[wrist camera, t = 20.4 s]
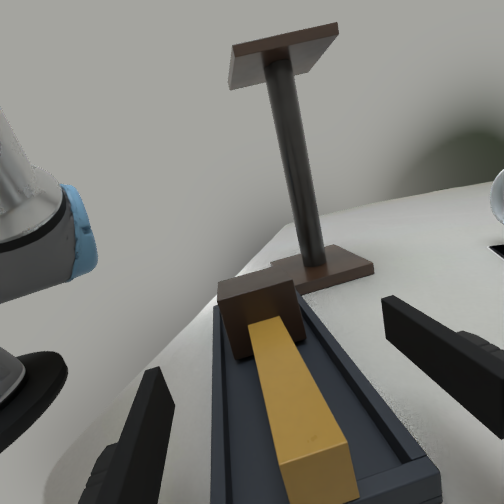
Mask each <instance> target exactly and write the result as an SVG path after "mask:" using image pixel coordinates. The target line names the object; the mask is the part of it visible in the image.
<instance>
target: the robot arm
mask: <svg viewBox="0 0 504 504" xmlns="http://www.w3.org/2000/svg"><path fill="white" fill-rule="evenodd" d="M90 228H91V226H90V223H89V219H88V215H87V213H86V210H85V207H84V204H83V202H82V200H81V197H80V195H79V193H78V191H77V190H76V188H75V187H73V186H71V185H63V184H59V182H58V181H57V180H56V179H55V178H54V176H53V175H52V174H50V173H49V172H47V171H46V170H44V169H42V168H40V167H37V166H34V165H32V164H31V163H30V161H29V160H28V158H27V156H26V154H25V152H24V150H23V148H22V146H21V145H20V143H19V141H18V139H17V137H16V135H15V133H14V131H13V129H12V128H11V126H10V124H9V122H8V120H7V118H6V116H5V114H4V113H3V111H2V109H1V107H0V304H1V303H4V302H7V301H10V300H13V299H16V298H19V297H22V296H25V295H28V294H31V293H34V292H37V291H40V290H43V289H46V288H49V287H52V286H55V285H58V284H61V283H64V282H65V283H66V282H70V281H71V280H73V279H74V278H76V277H78V276H81V275H83V274H86V273H89V272H90V271H92V270H93V269H94V268H95V267H96V265H97V261H98V254H97V248H96V243H95V240H94V236H93V233H92V230H91V229H90ZM381 303H382V311H383V319H384V327H385V335H386V339H387V340H388V341H389V342H390V343H391V344H393V345H394V346H395V347H396V348H397V349H398V350H399V351H401V352H402V353H403V354H404V355H405V356H406V357H407V358H409V359H410V360H411V361H412V362H413V363H414V364H415V365H416V366H418V367H419V368H420V369H421V370H422V371H423V372H424V373H426V374H427V375H428V376H429V377H430V378H431V379H432V380H434V381H435V382H436V383H437V384H438V385H439V386H440V387H442V388H443V389H444V390H445V391H446V392H447V393H448V394H449V395H451V396H452V397H453V398H454V399H455V400H456V401H457V402H459V403H460V404H461V405H462V406H463V407H464V408H465V409H467V410H468V411H469V412H470V413H471V414H472V415H473V416H475V417H476V418H477V419H478V420H479V421H480V422H481V423H482V424H484V425H485V426H486V427H487V428H488V429H489V430H490V431H492V432H493V433H494V434H495V435H496V436H497V437H498V438H500V439H501V440H502V439H504V350H500V348H499V347H497V346H495V345H493V344H490V343H489V342H488V341H486V340H484V339H483V338H481V337H479V336H477V335H474V334H471V333H468V332H465V331H460V332H457V333H456V332H454V331H452V330H451V329H449V328H447V327H446V326H444V325H442V324H441V323H439V322H437V321H436V320H434V319H432V318H431V317H429V316H427V315H426V314H424V313H422V312H421V311H419V310H417V309H416V308H414V307H412V306H411V305H409V304H407V303H406V302H404V301H402V300H401V299H399V298H397V297H396V296H394V295H392V296H388V297H385V298H382V299H381ZM27 380H28V372H27V371H26V369H25V367H24V365H23V364H22V363H21V362H20V361H19V360H18V359H17V358H16V357H14V356H13V355H11V354H10V353H9V352H7V351H6V350H4V349H3V348H1V347H0V411H1V410H3V409H4V408H5V407H6V406H7V405H8V404H9V403H10V402H11V401H12V400H13V399H14V398H15V397H16V396H17V395H18V394H19V392H20V391H21V390H22V389H23V387H24V386H25V384H26V382H27ZM174 409H175V404H174V401H173V399H172V396H171V394H170V391H169V389H168V387H167V384H166V382H165V379H164V377H163V374H162V372H161V369H160V367H159V366H158V367H155V368H152V369H148V370H145V373H144V375H143V378H142V380H141V383H140V386H139V388H138V391H137V394H136V396H135V399H134V402H133V404H132V407H131V409H130V412H129V415H128V417H127V420H126V423H125V425H124V428H123V431H122V433H121V436H120V438H119V441H118V442H117V443H114V444H111V445H108V446H107V447H106V448H105V449H104V451H103V452H102V453H101V455H100V456H99V457H98V459H97V461H96V463H95V465H94V467H93V470H92V472H91V476H90V477H89V479H88V481H87V484H86V488H85V489H84V491H83V493H82V495H81V498H80V500H79V502H78V504H158V498H159V493H160V487H161V481H162V476H163V470H164V465H165V459H166V454H167V448H168V443H169V437H170V432H171V426H172V421H173V415H174Z"/></svg>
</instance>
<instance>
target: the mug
mask: <svg viewBox="0 0 504 504" xmlns="http://www.w3.org/2000/svg"><path fill="white" fill-rule="evenodd" d="M490 205H491V209H492V212H493V214H494V216H495V217H496V219H497V220H498V221H500V222H501V223H502V224H504V169H503V170H502V171H501V172H500V173H499V174H498V176H497V177H496V179H495V181H494V182H493V185H492V187H491V192H490Z"/></svg>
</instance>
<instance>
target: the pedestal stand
mask: <svg viewBox="0 0 504 504" xmlns="http://www.w3.org/2000/svg"><path fill="white" fill-rule="evenodd" d="M338 34H339V30H338V23H337V22H335V23H330V24H326V25H322V26H317V27H313V28H308V29H303V30H299V31H294V32H290V33H285V34H280V35H276V36H271V37H267V38H262V39H258V40H253V41H249V42H244V43H239V44H235V45H232V52H231V60H230V69H229V77H228V84H229V89H230V90H234V89H238V88H243V87H247V86H251V85H256V84H259V83H264V82H266V85H267V89H268V94H269V99H270V104H271V108H272V113H273V119H274V124H275V128H276V133H277V138H278V143H279V148H280V153H281V158H282V163H283V168H284V173H285V178H286V183H287V187H288V192H289V197H290V202H291V207H292V212H293V217H294V222H295V227H296V232H297V237H298V241H299V246H300V251H301V254H298V255H294V256H291V257H287V258H284V259H280V260H277V261H273V262H270V264H271V267H273V266H277V265H279V266H280V267H281V268H282V269H283V270H284V271H285V272H286V273H287V274H288V275H289V276H290V277H291V278H292V279H293V281H294V286H295V289H296V290H297V291H298V293H299V294H300V295H303V294H306V293H310V292H313V291H317V290H320V289H323V288H327V287H330V286H334V285H337V284H340V283H344V282H347V281H351V280H354V279H357V278H361V277H364V276H368V275H371V274H374V267H373V263H372V262H370V261H368V260H366V259H364V258H362V257H359V256H357V255H355V254H353V253H351V252H349V251H347V250H345V249H343V248H341V247H339V246H336V245H334V244H333V245H330V246H326V247H324V243H323V237H322V232H321V226H320V220H319V215H318V209H317V204H316V198H315V192H314V187H313V181H312V175H311V170H310V164H309V159H308V153H307V147H306V141H305V136H304V130H303V124H302V119H301V114H300V108H299V102H298V97H297V91H296V85H295V79H294V76H295V75H299V74H303V73H307V72H309V71H310V69H311V68H312V67H313V66H314V64H315V63H316V62H317V61H318V59H319V58H320V57H321V56H322V54H323V53H324V52H325V51H326V49H327V48H328V47H329V46H330V45H331V43H332V42H333V41H334V40H335V38H336V37H337V36H338Z"/></svg>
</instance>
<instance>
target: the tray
mask: <svg viewBox="0 0 504 504" xmlns="http://www.w3.org/2000/svg"><path fill="white" fill-rule="evenodd" d="M295 290H296V289H295ZM296 294H297V298H298V302H299V307H300V311H301V315H302V319H303V323H304V328H305V332H306V336H307V339H304V340H301V341H297V342H294V344H295V346H296V348H297V350H298V351H299V353H300V355H301V357H302V359H303V361H304V362H305V364H306V366H307V368H308V370H309V372H310V374H311V375H312V377H313V379H314V381H315V383H316V385H317V387H318V388H319V390H320V392H321V394H322V396H323V398H324V399H325V401H326V403H327V405H328V407H329V409H330V411H331V412H332V414H333V416H334V418H335V420H336V422H337V424H338V425H339V427H340V429H341V431H342V433H343V435H344V436H345V438H346V440H347V442H348V446H349V451H350V455H351V460H352V464H353V469H354V473H355V478H356V482H357V487H358V491H359V496H360V497H359V498H357V499H354V500H352V501H349V502H346V503H343V504H439V503H442V502H443V499H442V489H441V474H440V471H439V470H438V469H437V467H436V466H435V465H434V464H433V462H432V461H431V460H430V459H429V457H428V456H427V454H426V453H425V452H424V450H423V449H422V448H421V447H420V445H419V444H418V443H417V442H416V440H415V439H414V438H413V437H412V435H411V434H410V433H409V432H408V430H407V429H406V428H405V426H404V425H403V424H402V423H401V421H400V420H399V419H398V418H397V416H396V415H395V414H394V413H393V411H392V410H391V409H390V408H389V406H388V405H387V404H386V402H385V401H384V400H383V399H382V397H381V396H380V395H379V394H378V392H377V391H376V390H375V389H374V387H373V386H372V385H371V384H370V382H369V381H368V380H367V379H366V377H365V376H364V375H363V373H362V372H361V371H360V370H359V368H358V367H357V366H356V365H355V363H354V362H353V361H352V360H351V358H350V357H349V356H348V355H347V353H346V352H345V351H344V349H343V348H342V347H341V346H340V344H339V343H338V342H337V341H336V339H335V338H334V337H333V336H332V334H331V333H330V332H329V331H328V329H327V328H326V327H325V326H324V324H323V323H322V322H321V320H320V319H319V318H318V317H317V315H316V314H315V313H314V312H313V310H312V309H311V308H310V307H309V305H308V304H307V303H306V302H305V300H304V299H303V298H302V296H301V295H300V294H299V293H298V291H297V290H296ZM210 504H290V502H289V499H288V495H287V492H286V488H285V485H284V481H283V478H282V474H281V471H280V468H279V464H278V459H277V455H276V450H275V446H274V441H273V437H272V432H271V428H270V423H269V419H268V414H267V410H266V406H265V401H264V397H263V392H262V388H261V383H260V379H259V374H258V370H257V365H256V361H255V356H254V355H251V356H248V357H245V358H242V359H238V360H234V356H233V353H232V350H231V346H230V343H229V340H228V336H227V333H226V330H225V326H224V323H223V320H222V317H221V313H220V310H219V307H218V305H216V306H214V307H213V365H212V430H211V496H210Z"/></svg>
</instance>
